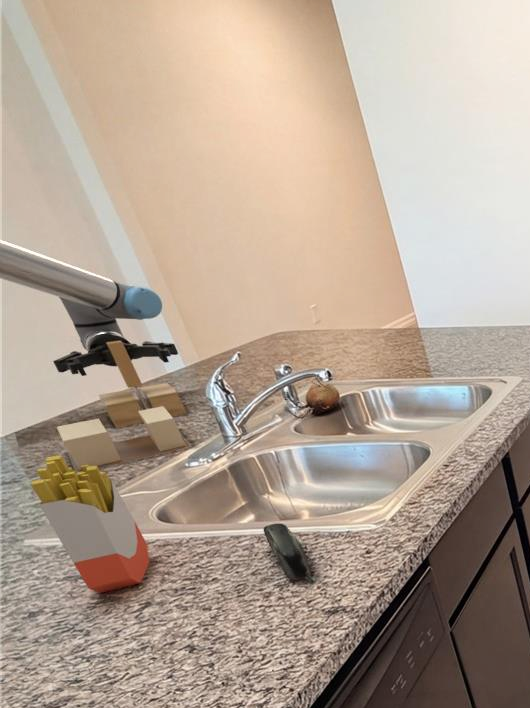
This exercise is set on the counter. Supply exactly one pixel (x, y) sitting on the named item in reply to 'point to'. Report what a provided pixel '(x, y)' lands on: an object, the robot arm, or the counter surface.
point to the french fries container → (92, 525)
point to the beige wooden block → (162, 428)
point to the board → (135, 450)
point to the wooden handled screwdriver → (126, 368)
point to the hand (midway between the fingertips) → (124, 362)
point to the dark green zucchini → (288, 552)
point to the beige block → (88, 443)
